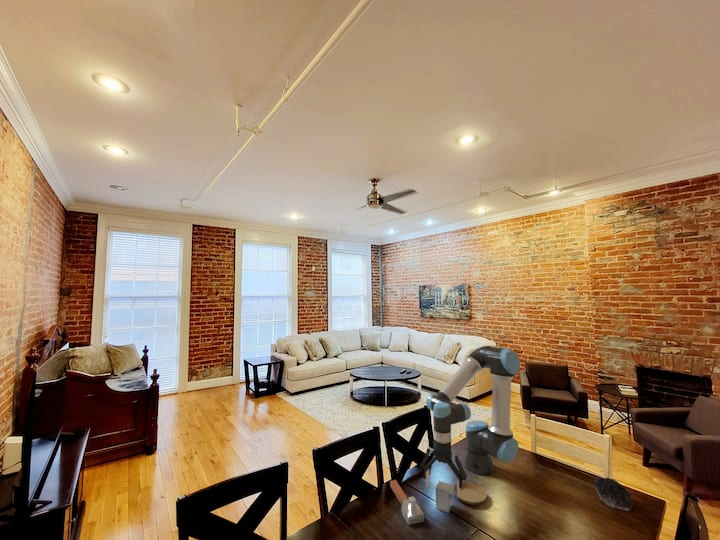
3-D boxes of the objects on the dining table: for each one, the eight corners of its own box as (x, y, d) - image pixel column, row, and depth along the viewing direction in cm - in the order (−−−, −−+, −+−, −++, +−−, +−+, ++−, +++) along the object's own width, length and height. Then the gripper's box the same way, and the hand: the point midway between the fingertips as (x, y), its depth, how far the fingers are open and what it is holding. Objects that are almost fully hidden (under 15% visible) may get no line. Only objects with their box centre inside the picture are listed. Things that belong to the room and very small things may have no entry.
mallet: (386, 486, 153) (386, 470, 154) (399, 484, 155) (399, 468, 155) (408, 524, 128) (407, 505, 129) (423, 521, 130) (423, 502, 130)
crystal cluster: (640, 506, 139) (637, 482, 140) (626, 515, 132) (623, 488, 134) (605, 492, 150) (602, 469, 152) (590, 499, 144) (588, 475, 145)
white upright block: (435, 508, 137) (435, 487, 138) (439, 501, 142) (439, 480, 143) (448, 513, 135) (448, 491, 135) (452, 505, 140) (451, 484, 140)
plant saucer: (470, 512, 135) (470, 506, 136) (446, 492, 148) (446, 487, 149) (494, 501, 142) (494, 495, 142) (469, 483, 155) (469, 478, 155)
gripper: (412, 436, 143) (412, 485, 142) (469, 450, 131) (470, 504, 129) (418, 430, 150) (418, 477, 148) (473, 443, 137) (474, 494, 136)
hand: (442, 490), depth 139 cm, fingers open, 13 cm apart
